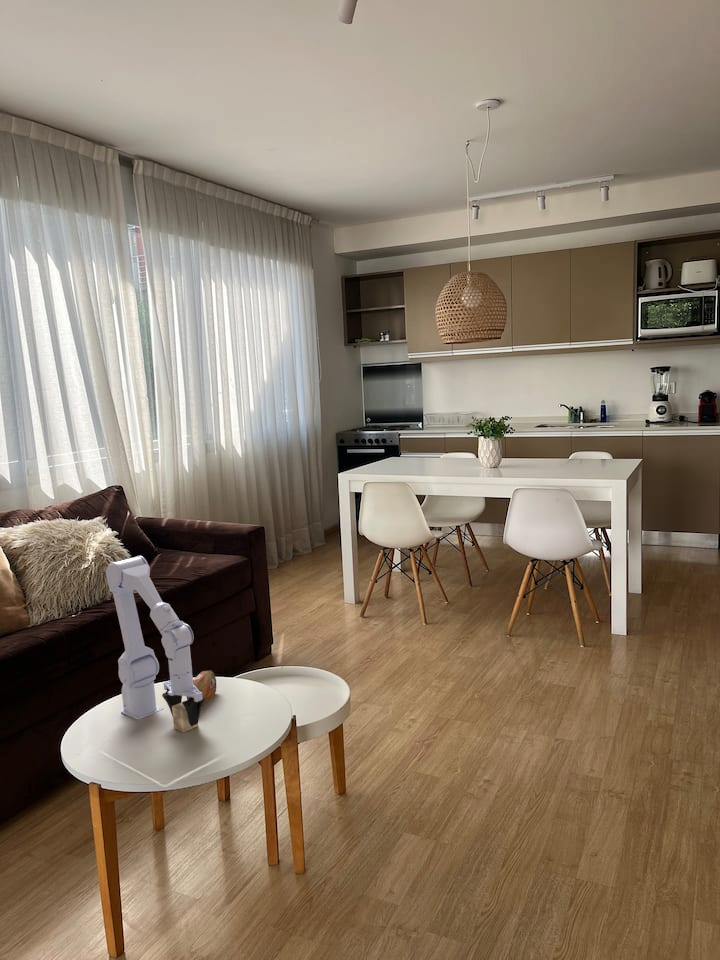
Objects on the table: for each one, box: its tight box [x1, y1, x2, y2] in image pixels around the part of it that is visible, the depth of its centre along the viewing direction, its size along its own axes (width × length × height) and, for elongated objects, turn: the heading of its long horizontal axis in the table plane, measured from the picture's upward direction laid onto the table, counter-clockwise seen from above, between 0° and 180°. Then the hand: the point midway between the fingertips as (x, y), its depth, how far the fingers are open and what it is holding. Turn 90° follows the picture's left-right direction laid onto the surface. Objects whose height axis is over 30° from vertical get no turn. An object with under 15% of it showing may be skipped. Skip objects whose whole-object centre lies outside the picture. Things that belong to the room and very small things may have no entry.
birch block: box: [172, 700, 199, 733], centre depth 188 cm, size 4×4×6 cm
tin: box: [186, 670, 217, 709], centre depth 202 cm, size 15×3×8 cm, turn 168°
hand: (185, 720), depth 188 cm, fingers open, 7 cm apart
